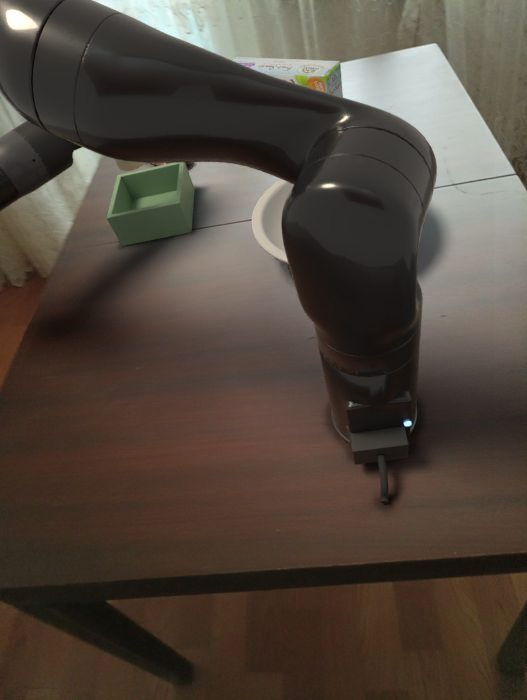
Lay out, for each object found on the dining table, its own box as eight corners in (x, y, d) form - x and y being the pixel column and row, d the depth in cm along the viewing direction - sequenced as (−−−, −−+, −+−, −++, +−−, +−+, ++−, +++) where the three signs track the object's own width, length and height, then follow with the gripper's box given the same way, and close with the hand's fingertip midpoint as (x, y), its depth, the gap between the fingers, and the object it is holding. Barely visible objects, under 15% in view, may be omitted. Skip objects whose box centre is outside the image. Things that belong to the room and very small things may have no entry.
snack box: (349, 146, 90) (341, 59, 78) (334, 164, 88) (325, 76, 76) (253, 133, 100) (234, 54, 88) (238, 149, 98) (216, 69, 86)
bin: (191, 232, 84) (179, 202, 80) (121, 246, 86) (106, 218, 82) (194, 189, 92) (184, 160, 88) (131, 202, 94) (117, 174, 89)
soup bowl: (420, 302, 65) (422, 265, 60) (245, 301, 72) (234, 267, 67) (422, 189, 79) (424, 151, 73) (276, 197, 85) (268, 163, 80)
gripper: (38, 144, 61) (141, 78, 67) (-12, 121, 69) (85, 64, 75) (68, 195, 67) (161, 131, 73) (20, 169, 75) (107, 112, 81)
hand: (122, 97), depth 74 cm, fingers closed on canister, 5 cm apart
